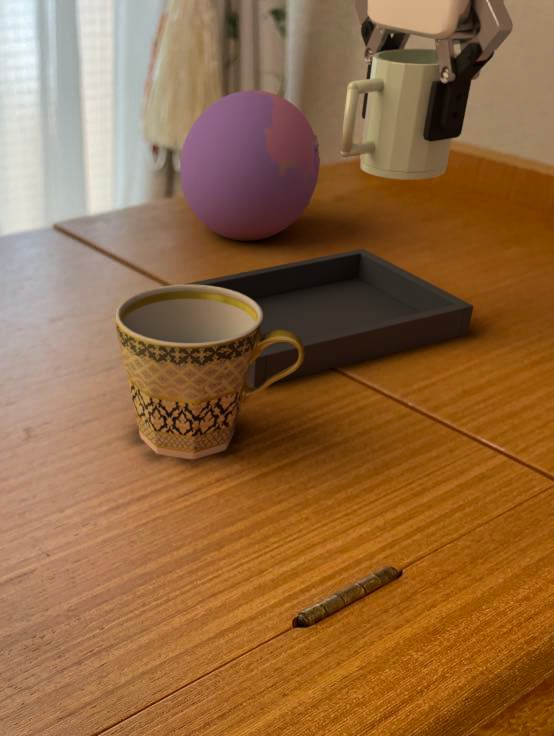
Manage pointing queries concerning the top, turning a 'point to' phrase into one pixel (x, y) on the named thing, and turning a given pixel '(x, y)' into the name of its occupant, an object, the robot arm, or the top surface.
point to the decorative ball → (249, 165)
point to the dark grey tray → (344, 311)
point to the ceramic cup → (192, 364)
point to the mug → (396, 117)
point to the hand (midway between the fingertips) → (409, 125)
